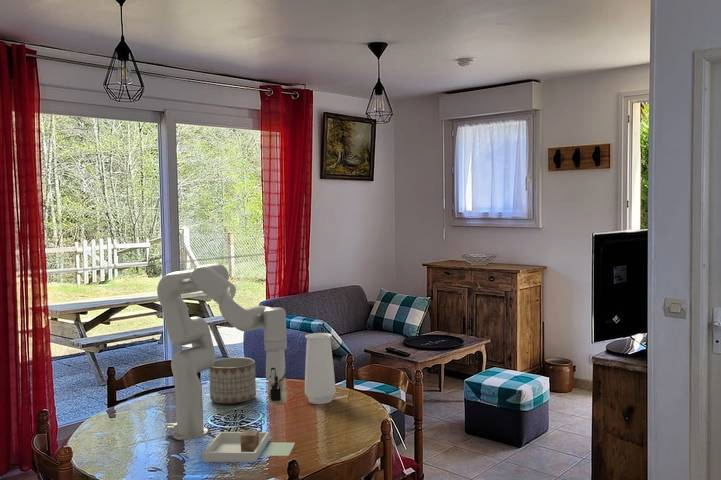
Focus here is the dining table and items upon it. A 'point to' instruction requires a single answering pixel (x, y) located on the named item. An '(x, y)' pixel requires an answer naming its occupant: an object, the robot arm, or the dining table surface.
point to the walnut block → (249, 440)
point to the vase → (319, 369)
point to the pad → (278, 449)
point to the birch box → (282, 391)
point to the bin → (232, 448)
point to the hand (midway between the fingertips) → (277, 397)
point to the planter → (232, 380)
